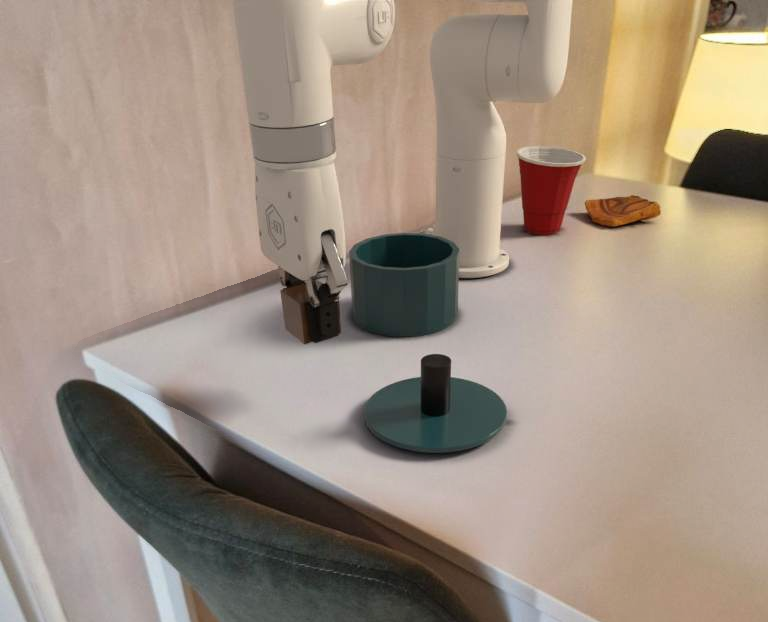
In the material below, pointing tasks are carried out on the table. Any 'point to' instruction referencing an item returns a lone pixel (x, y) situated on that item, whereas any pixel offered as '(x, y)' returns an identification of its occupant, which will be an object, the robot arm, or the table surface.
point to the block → (298, 311)
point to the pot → (404, 284)
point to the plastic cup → (546, 186)
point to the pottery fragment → (621, 210)
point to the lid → (435, 411)
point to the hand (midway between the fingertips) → (312, 328)
